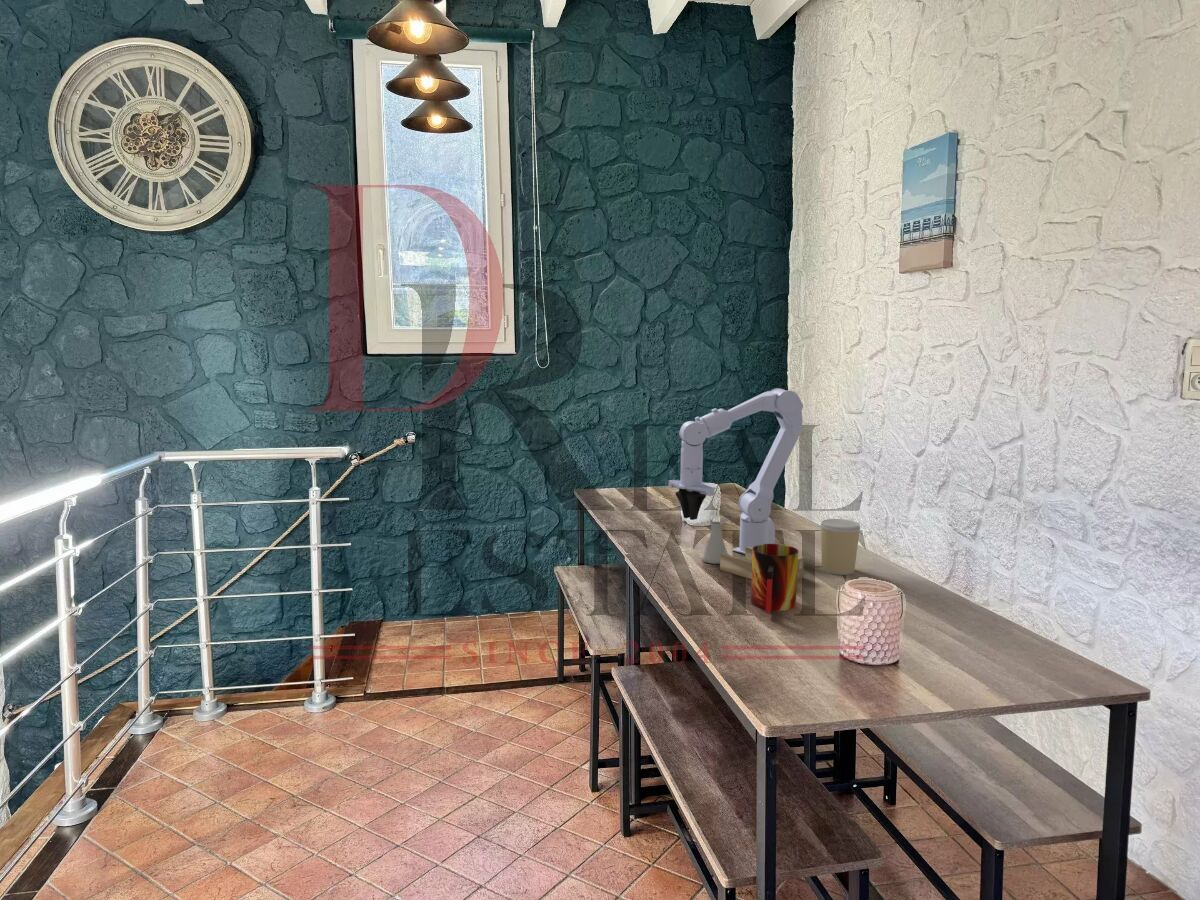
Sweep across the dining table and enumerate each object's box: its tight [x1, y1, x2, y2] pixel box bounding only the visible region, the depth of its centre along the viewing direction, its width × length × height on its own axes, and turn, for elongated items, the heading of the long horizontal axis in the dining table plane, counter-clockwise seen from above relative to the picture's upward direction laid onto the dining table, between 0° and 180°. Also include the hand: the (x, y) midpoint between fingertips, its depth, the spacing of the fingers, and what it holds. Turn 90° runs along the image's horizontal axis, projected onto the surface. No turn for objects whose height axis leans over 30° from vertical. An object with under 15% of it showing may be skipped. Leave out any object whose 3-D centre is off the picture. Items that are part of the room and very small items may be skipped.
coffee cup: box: [820, 518, 861, 576], centre depth 198 cm, size 9×9×12 cm
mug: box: [750, 543, 799, 614], centre depth 172 cm, size 10×14×12 cm
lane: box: [719, 547, 805, 581], centre depth 195 cm, size 11×17×5 cm, turn 41°
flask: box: [701, 521, 729, 565], centre depth 206 cm, size 7×7×10 cm
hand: (690, 518), depth 212 cm, fingers closed
